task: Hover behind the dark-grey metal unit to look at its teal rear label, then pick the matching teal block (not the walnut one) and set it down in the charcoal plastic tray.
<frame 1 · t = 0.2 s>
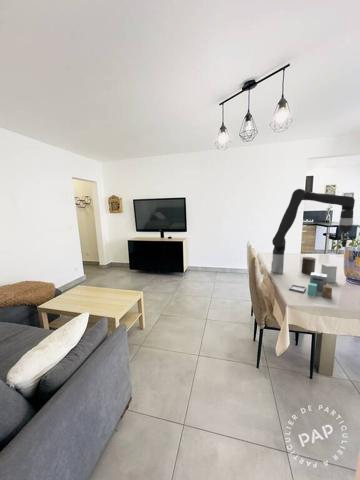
hand: (343, 246, 143), 29 cm above the table, fingers open, 8 cm apart
teal block: (312, 294, 130), on the table
pillar candle: (307, 273, 172), on the table
supplement box: (327, 280, 153), on the table
tray: (297, 289, 138), on the table
unit: (317, 289, 137), on the table
walnut block: (326, 296, 126), on the table
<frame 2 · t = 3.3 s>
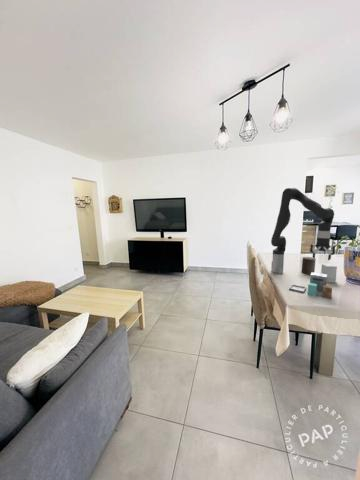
hand: (321, 259, 139), 21 cm above the table, fingers open, 8 cm apart
nothing on the table moved.
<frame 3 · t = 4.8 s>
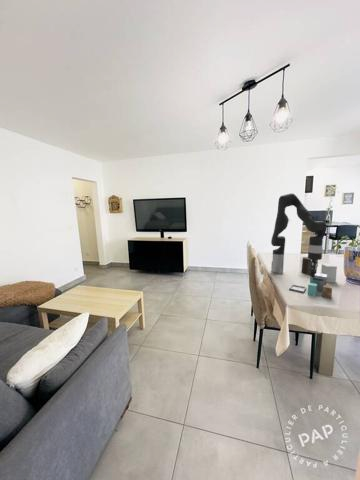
hand: (313, 275, 128), 13 cm above the table, fingers open, 8 cm apart
nothing on the table moved.
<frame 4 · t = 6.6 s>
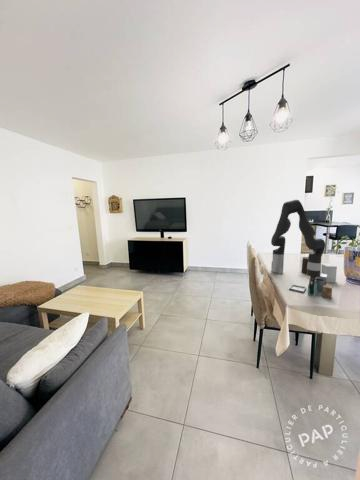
hand: (312, 292, 130), 1 cm above the table, fingers closed on teal block, 4 cm apart
teal block: (311, 294, 130), on the table, touching gripper
everything else where it was.
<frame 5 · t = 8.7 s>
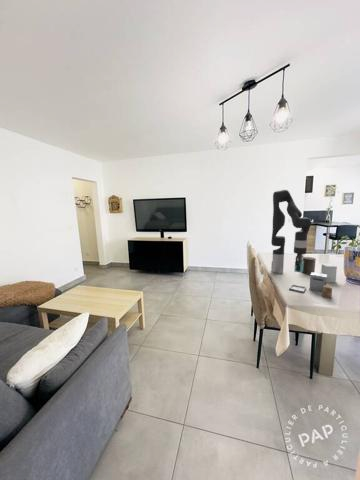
hand: (298, 270, 136), 14 cm above the table, fingers closed on teal block, 4 cm apart
teal block: (298, 271, 136), point 13 cm above the table, touching gripper
everything else where it was.
when the fingers open (3 cm above the table, at t = 11.1 s): teal block drops 1 cm, resting on tray.
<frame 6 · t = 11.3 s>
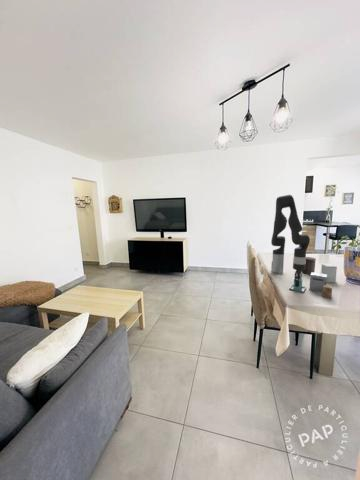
hand: (297, 285, 138), 3 cm above the table, fingers open, 6 cm apart
teal block: (297, 288, 138), resting on tray
everything else where it was.
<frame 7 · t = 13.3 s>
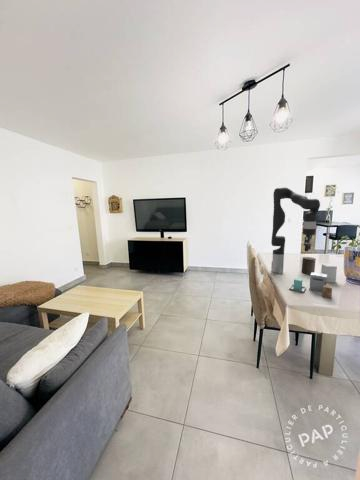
hand: (307, 250, 139), 28 cm above the table, fingers open, 8 cm apart
nothing on the table moved.
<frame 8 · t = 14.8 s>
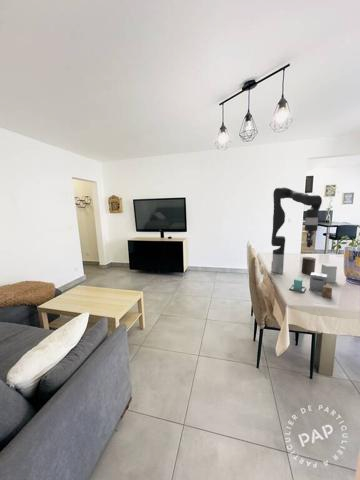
hand: (309, 246, 139), 30 cm above the table, fingers open, 8 cm apart
nothing on the table moved.
at the end: teal block 0.0 cm off-centre on the tray, point 0.5 cm above the tray's base; teal block tilted 0°; the gripper is holding nothing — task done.
